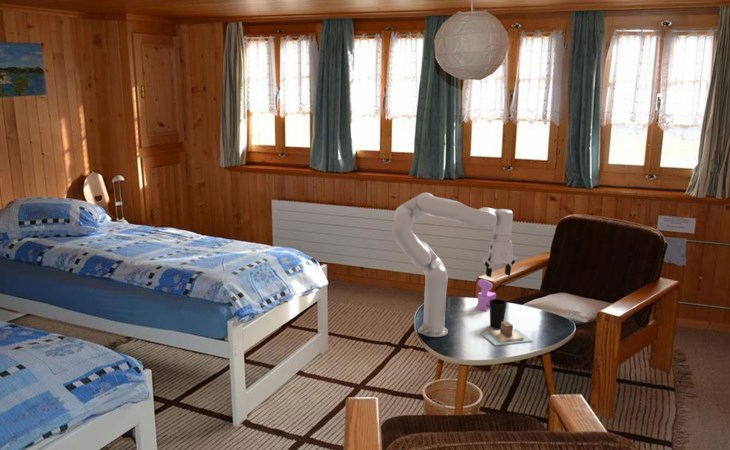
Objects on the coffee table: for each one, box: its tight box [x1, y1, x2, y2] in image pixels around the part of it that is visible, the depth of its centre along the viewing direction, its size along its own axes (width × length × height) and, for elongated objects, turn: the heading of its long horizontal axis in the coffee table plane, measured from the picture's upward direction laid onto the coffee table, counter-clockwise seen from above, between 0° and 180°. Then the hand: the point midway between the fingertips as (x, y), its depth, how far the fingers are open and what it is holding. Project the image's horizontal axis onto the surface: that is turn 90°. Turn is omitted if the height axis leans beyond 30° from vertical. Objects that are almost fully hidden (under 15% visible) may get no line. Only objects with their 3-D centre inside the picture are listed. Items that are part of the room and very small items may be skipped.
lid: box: [488, 320, 524, 342], centre depth 288 cm, size 11×11×6 cm
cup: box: [489, 298, 507, 330], centre depth 300 cm, size 8×8×12 cm
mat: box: [480, 328, 533, 347], centre depth 288 cm, size 18×14×1 cm
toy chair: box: [475, 279, 497, 312], centre depth 325 cm, size 8×9×15 cm
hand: (498, 275), depth 287 cm, fingers open, 9 cm apart
